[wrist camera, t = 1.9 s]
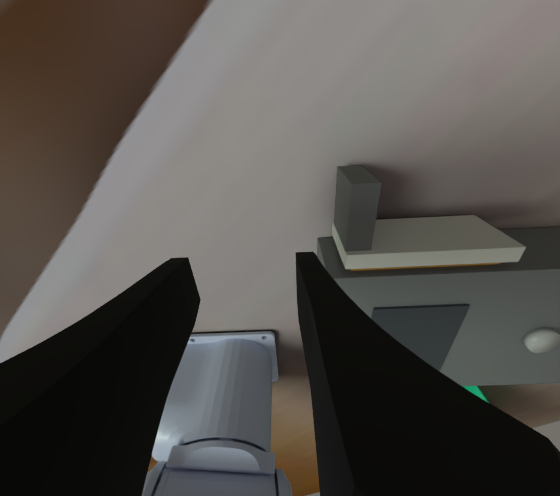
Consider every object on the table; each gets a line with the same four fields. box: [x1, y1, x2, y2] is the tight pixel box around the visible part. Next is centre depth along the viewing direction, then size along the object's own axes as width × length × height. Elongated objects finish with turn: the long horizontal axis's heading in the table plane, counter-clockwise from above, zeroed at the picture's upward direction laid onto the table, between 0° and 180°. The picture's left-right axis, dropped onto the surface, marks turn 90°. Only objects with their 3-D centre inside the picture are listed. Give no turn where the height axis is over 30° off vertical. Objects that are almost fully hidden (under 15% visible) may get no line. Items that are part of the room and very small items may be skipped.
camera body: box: [317, 227, 560, 386], centre depth 20 cm, size 22×12×6 cm, turn 93°
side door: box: [332, 165, 526, 269], centre depth 15 cm, size 10×5×4 cm, turn 93°
